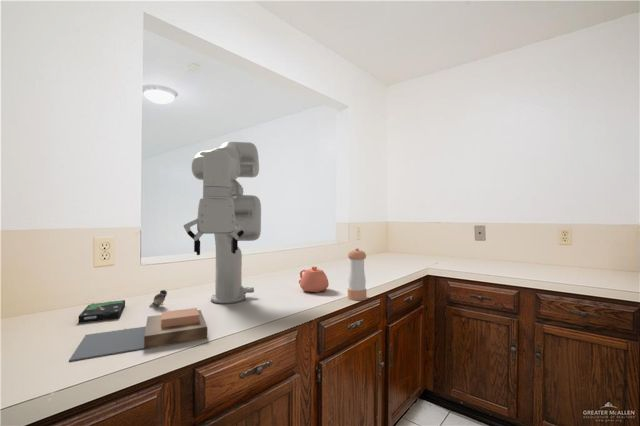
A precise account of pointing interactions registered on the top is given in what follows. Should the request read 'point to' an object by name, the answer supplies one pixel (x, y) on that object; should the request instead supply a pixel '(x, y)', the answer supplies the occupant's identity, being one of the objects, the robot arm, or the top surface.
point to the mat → (109, 343)
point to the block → (179, 317)
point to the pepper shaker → (357, 276)
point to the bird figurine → (159, 299)
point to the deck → (173, 332)
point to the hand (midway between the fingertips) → (216, 253)
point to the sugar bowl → (313, 280)
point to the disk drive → (102, 311)
